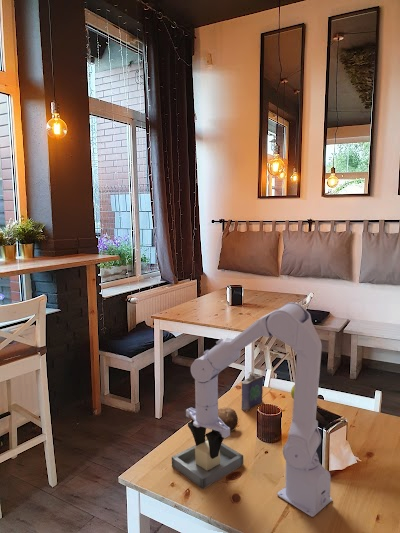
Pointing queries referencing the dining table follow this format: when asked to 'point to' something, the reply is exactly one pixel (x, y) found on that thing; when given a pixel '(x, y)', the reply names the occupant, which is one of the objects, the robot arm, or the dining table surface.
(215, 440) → the robot arm
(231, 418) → the brown rough rounded lump
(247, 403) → the flask
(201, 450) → the cheese cube
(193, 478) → the slate tray
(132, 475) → the dining table surface
